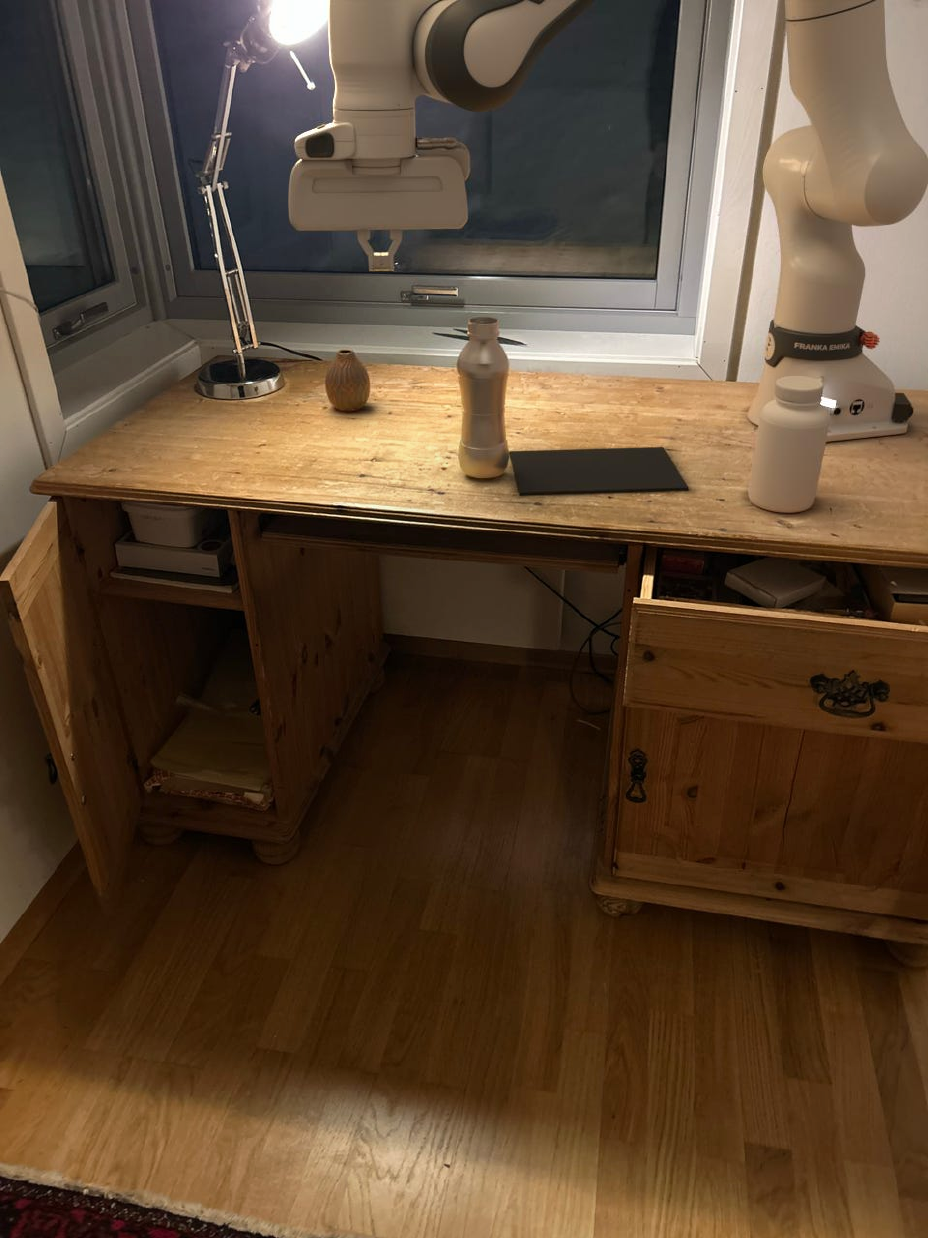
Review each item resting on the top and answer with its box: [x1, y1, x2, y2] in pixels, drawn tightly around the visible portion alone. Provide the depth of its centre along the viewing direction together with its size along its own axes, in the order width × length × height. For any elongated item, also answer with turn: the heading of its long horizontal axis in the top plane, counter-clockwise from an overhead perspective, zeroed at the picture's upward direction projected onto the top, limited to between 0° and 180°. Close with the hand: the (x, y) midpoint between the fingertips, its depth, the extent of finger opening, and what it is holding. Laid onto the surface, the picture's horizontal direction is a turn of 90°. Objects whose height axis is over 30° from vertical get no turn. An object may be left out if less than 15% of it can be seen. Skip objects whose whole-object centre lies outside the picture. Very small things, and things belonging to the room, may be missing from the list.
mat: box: [509, 446, 689, 496], centre depth 127 cm, size 22×14×1 cm, turn 93°
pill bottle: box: [747, 376, 830, 514], centre depth 114 cm, size 8×8×15 cm
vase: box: [324, 349, 371, 412], centre depth 147 cm, size 7×7×9 cm
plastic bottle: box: [456, 316, 510, 479], centre depth 121 cm, size 6×7×20 cm
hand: (381, 269), depth 112 cm, fingers closed
